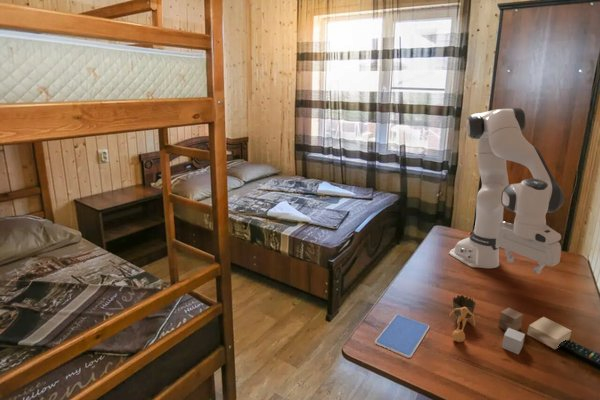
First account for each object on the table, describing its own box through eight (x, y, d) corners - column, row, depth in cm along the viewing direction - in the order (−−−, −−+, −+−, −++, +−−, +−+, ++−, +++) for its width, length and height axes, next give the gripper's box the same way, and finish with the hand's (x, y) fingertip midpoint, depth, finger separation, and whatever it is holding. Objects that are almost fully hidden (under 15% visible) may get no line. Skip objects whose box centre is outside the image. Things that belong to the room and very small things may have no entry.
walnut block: (498, 326, 135) (500, 312, 133) (506, 321, 138) (508, 307, 136) (512, 334, 131) (515, 319, 129) (520, 329, 134) (523, 314, 132)
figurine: (443, 338, 129) (447, 308, 125) (449, 329, 133) (453, 300, 130) (469, 349, 124) (474, 317, 120) (474, 339, 129) (479, 308, 125)
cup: (462, 328, 134) (465, 309, 132) (446, 317, 140) (448, 298, 138) (477, 322, 137) (480, 303, 135) (460, 311, 144) (463, 293, 141)
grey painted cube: (501, 347, 125) (504, 334, 123) (505, 340, 128) (508, 327, 127) (518, 354, 122) (521, 341, 120) (522, 346, 125) (525, 333, 124)
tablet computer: (410, 360, 120) (410, 357, 120) (373, 344, 127) (373, 341, 127) (430, 328, 135) (430, 325, 135) (396, 316, 142) (396, 313, 142)
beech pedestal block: (526, 334, 131) (529, 325, 130) (541, 326, 136) (543, 316, 134) (554, 350, 124) (557, 340, 123) (568, 340, 128) (571, 330, 127)
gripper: (494, 221, 133) (489, 257, 137) (554, 241, 115) (547, 282, 119) (505, 218, 136) (501, 253, 140) (566, 236, 118) (559, 277, 122)
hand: (523, 267), depth 129 cm, fingers open, 8 cm apart
